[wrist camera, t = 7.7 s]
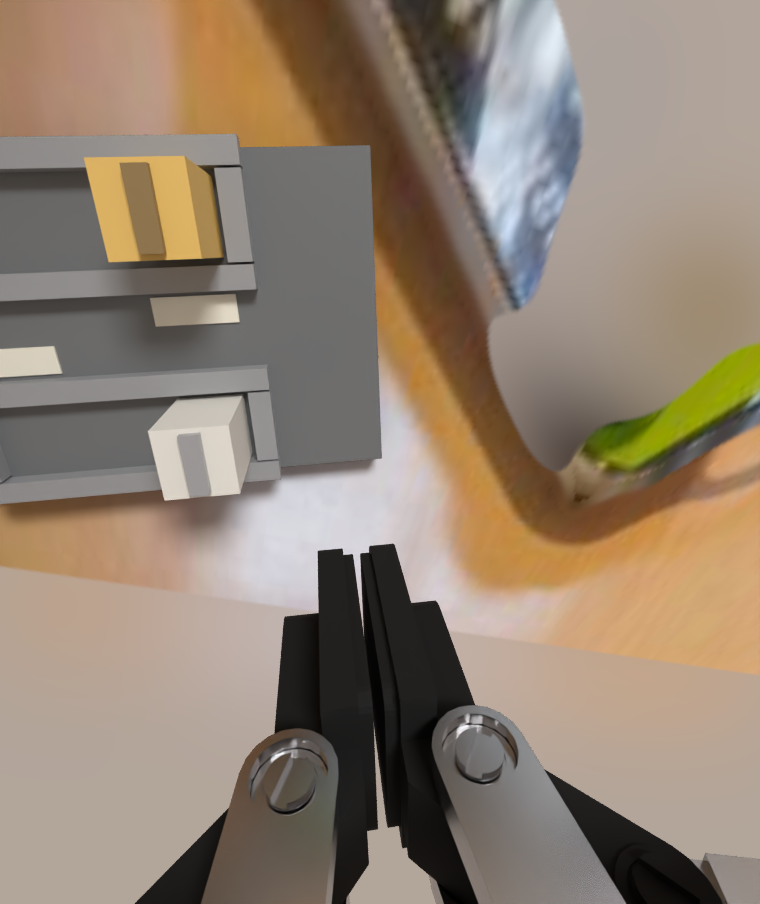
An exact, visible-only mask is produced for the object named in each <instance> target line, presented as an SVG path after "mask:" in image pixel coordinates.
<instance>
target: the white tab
mask: <svg viewBox="0 0 760 904" xmlns="http://www.w3.org/2000/svg"><path fill="white" fill-rule="evenodd" d="M148 434H149V438H150V442H151V446H152V451H153V455H154V459H155V463H156V467H157V471H158V476H159V480H160V484H161V488H162V492H163V496H164V500H165V501H167V500H177V499H188V498H199V497H210V496H221V495H232V494H240V492H241V489H242V486H243V482H244V479H245V475H246V472H247V469H248V465H249V462H250V458H251V455H252V446H251V440H250V433H249V427H248V420H247V414H246V407H245V400H244V394H234V395H220V396H206V397H191V398H178V399H177V400H176V401H175V402H174V403H173V404H172V406H171V407H170V408H169V409H168V410H167V411H166V412H165V413H164V414H163V415H162V417H161V418H160V419H159V420H158V421H157V422H156V423H155V424H154V425H153V426H152V427H151V429H150V430H149V431H148Z"/></svg>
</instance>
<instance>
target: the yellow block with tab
mask: <svg viewBox="0 0 760 904" xmlns="http://www.w3.org/2000/svg"><path fill="white" fill-rule="evenodd" d="M84 161H85V165H86V169H87V174H88V178H89V182H90V186H91V190H92V194H93V199H94V203H95V207H96V211H97V215H98V220H99V224H100V228H101V232H102V236H103V240H104V245H105V249H106V253H107V257H108V261H109V262H128V261H154V260H179V259H204V258H221V257H224V254H223V248H222V241H221V235H220V228H219V221H218V215H217V208H216V202H215V195H214V188H213V182H212V176H210V175H209V174H208V173H206V172H205V171H204V170H202V169H201V168H200V167H198V166H197V165H196V164H195V163H193V162H192V161H191V160H189V159H188V158H187V157H185V156H143V157H84Z"/></svg>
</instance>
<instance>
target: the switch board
mask: <svg viewBox="0 0 760 904" xmlns="http://www.w3.org/2000/svg"><path fill="white" fill-rule="evenodd" d="M143 156H185V157H187V158H188V159H189V160H191V161H192V162H193V163H195V164H196V165H197V166H198V167H200V168H201V169H202V170H204V171H205V172H206V173H208V174H209V175H210V176H212V182H213V188H214V195H215V202H216V208H217V215H218V221H219V228H220V235H221V241H222V248H223V254H224V257H221V258H204V259H179V260H154V261H128V262H109V261H108V257H107V253H106V249H105V245H104V240H103V236H102V232H101V228H100V224H99V220H98V215H97V211H96V207H95V203H94V199H93V194H92V190H91V186H90V182H89V178H88V174H87V169H86V165H85V161H84V157H143ZM234 394H244V400H245V407H246V414H247V420H248V427H249V433H250V440H251V446H252V455H251V458H250V462H249V465H248V469H247V472H246V475H245V479H244V482H255V481H266V480H277V479H281V475H282V469H281V467H288V466H300V465H311V464H323V463H334V462H346V461H358V460H369V459H381V458H382V452H381V425H380V398H379V372H378V345H377V318H376V292H375V265H374V239H373V212H372V185H371V159H370V146H304V147H240V143H239V138H238V136H237V135H236V134H194V135H111V136H29V137H0V504H8V503H20V502H31V501H42V500H53V499H64V498H76V497H87V496H98V495H109V494H120V493H132V492H143V491H154V490H162V488H161V484H160V480H159V476H158V471H157V467H156V463H155V459H154V455H153V451H152V446H151V442H150V438H149V434H148V431H149V430H150V429H151V427H152V426H153V425H154V424H155V423H156V422H157V421H158V420H159V419H160V418H161V417H162V415H163V414H164V413H165V412H166V411H167V410H168V409H169V408H170V407H171V406H172V404H173V403H174V402H175V401H176V400H177V399H178V398H191V397H206V396H220V395H234ZM244 482H243V483H244Z"/></svg>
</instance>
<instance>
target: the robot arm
mask: <svg viewBox="0 0 760 904" xmlns="http://www.w3.org/2000/svg"><path fill="white" fill-rule="evenodd" d="M360 559H361V581H362V602H363V622H364V634H363V627H362V619H361V612H360V604H359V597H358V589H357V582H356V574H355V567H354V559H353V554H350V555H343V549H332V550H321V551H318V599H319V613H315V614H307V615H297V616H287V617H285V618H284V625H283V637H282V649H281V661H280V674H279V686H278V698H277V709H276V721H275V734H273V735H271V736H269V737H267V738H266V739H265V740H264V741H262V742H261V743H259V744H258V745H257V746H256V747H255V748H254V749H253V750H252V752H251V753H250V754H249V755H248V757H247V758H246V759H245V762H244V764H243V766H242V768H241V770H240V773H239V776H238V779H237V782H236V786H235V789H234V793H233V796H232V799H231V803H230V806H229V808H228V809H227V810H226V811H225V812H224V813H223V814H222V816H220V817H219V818H218V820H216V822H215V823H214V824H213V825H212V826H211V827H210V828H209V829H208V830H207V831H206V832H205V833H204V834H203V835H202V836H201V837H200V838H199V839H198V840H197V841H196V842H195V843H194V844H193V845H192V846H191V847H190V848H189V849H188V850H187V851H186V852H185V853H184V854H183V855H182V856H181V857H180V858H179V859H178V860H177V861H176V862H175V863H174V864H173V865H172V866H171V867H170V868H169V869H168V870H167V871H166V872H165V873H164V874H163V875H162V877H160V879H158V880H157V882H156V883H155V884H154V885H153V886H152V887H151V888H150V889H149V890H148V891H147V892H146V893H145V894H144V895H143V896H142V897H141V898H140V899H139V900H138V901H137V902H136V903H135V904H349V893H350V892H351V890H352V888H353V887H354V886H355V884H356V883H357V881H358V879H359V878H360V877H361V875H362V874H363V872H364V871H365V869H366V867H367V866H368V864H369V858H368V840H367V831H369V830H376V829H378V821H377V797H376V773H375V750H374V749H375V748H374V729H375V736H376V744H377V752H378V760H379V767H380V774H381V783H382V791H383V798H384V805H385V814H386V821H387V826H388V828H389V827H395V826H399V830H400V837H401V843H402V848H406V847H407V851H408V857H409V858H410V859H411V860H412V861H413V862H415V863H416V864H417V865H418V866H419V867H420V868H421V869H423V870H424V871H425V872H426V873H427V874H429V877H430V883H431V889H432V892H433V895H434V898H435V901H436V904H760V859H755V858H746V857H737V856H727V855H719V854H709V853H705V856H704V858H703V860H695V859H689V858H687V857H686V856H685V855H684V854H682V853H681V852H679V851H678V850H677V849H675V848H674V847H673V846H671V845H669V844H668V843H666V842H665V841H663V840H661V839H660V838H658V837H656V836H654V835H653V834H651V833H650V832H648V831H646V830H644V829H643V828H641V827H640V826H638V825H636V824H635V823H633V822H631V821H630V820H628V819H626V818H625V817H623V816H621V815H620V814H618V813H616V812H615V811H613V810H611V809H610V808H608V807H606V806H604V805H603V804H601V803H599V802H598V801H596V800H595V799H593V798H591V797H590V796H588V795H586V794H584V793H583V792H581V791H580V790H578V789H576V788H574V787H573V786H571V785H570V784H568V783H566V782H564V781H563V780H561V779H560V778H558V777H556V776H555V775H553V774H551V773H549V772H548V771H546V770H545V769H543V767H542V765H541V764H540V762H539V760H538V759H537V757H536V756H535V754H534V752H533V750H532V749H531V747H530V746H529V744H528V743H527V741H526V739H525V738H524V736H523V734H522V733H521V732H520V730H519V729H518V728H517V727H516V725H515V724H514V723H513V722H512V721H511V720H509V719H508V718H507V717H505V716H504V715H503V714H501V713H500V712H497V711H495V710H493V709H490V708H488V707H483V706H476V705H475V704H474V701H473V698H472V695H471V692H470V690H469V687H468V684H467V681H466V679H465V676H464V673H463V670H462V667H461V665H460V662H459V659H458V656H457V654H456V651H455V648H454V645H453V643H452V640H451V637H450V634H449V632H448V629H447V626H446V623H445V621H444V618H443V615H442V612H441V610H440V607H439V605H438V603H437V602H436V601H427V602H418V603H411V601H410V597H409V594H408V590H407V587H406V583H405V580H404V576H403V573H402V569H401V566H400V562H399V559H398V555H397V552H396V548H395V545H394V544H386V545H375V546H370V547H369V553H361V554H360ZM373 721H374V724H373Z"/></svg>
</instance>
